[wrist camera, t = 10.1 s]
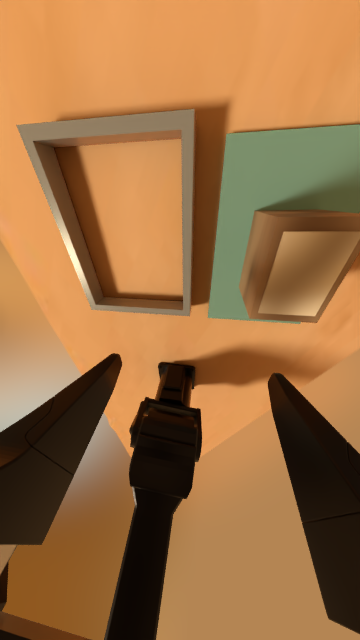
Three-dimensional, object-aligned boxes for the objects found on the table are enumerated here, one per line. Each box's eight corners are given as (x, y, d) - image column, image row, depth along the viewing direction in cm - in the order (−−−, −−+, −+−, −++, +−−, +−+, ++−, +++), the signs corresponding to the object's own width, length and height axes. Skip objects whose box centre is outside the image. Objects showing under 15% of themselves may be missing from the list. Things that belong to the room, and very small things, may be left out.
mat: (298, 321, 20) (300, 323, 20) (207, 315, 21) (207, 317, 21) (402, 123, 10) (408, 120, 10) (226, 135, 12) (226, 133, 11)
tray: (191, 307, 21) (189, 316, 19) (100, 301, 22) (91, 309, 21) (196, 121, 12) (194, 109, 10) (39, 133, 13) (16, 125, 12)
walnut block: (319, 209, 13) (383, 216, 8) (287, 288, 17) (317, 324, 12) (254, 210, 14) (279, 217, 9) (238, 286, 18) (249, 320, 13)
